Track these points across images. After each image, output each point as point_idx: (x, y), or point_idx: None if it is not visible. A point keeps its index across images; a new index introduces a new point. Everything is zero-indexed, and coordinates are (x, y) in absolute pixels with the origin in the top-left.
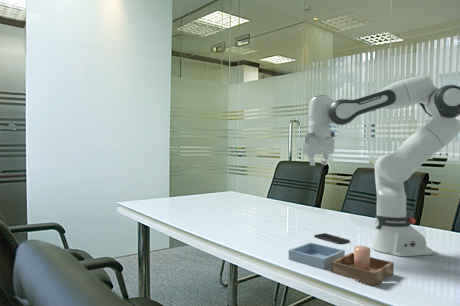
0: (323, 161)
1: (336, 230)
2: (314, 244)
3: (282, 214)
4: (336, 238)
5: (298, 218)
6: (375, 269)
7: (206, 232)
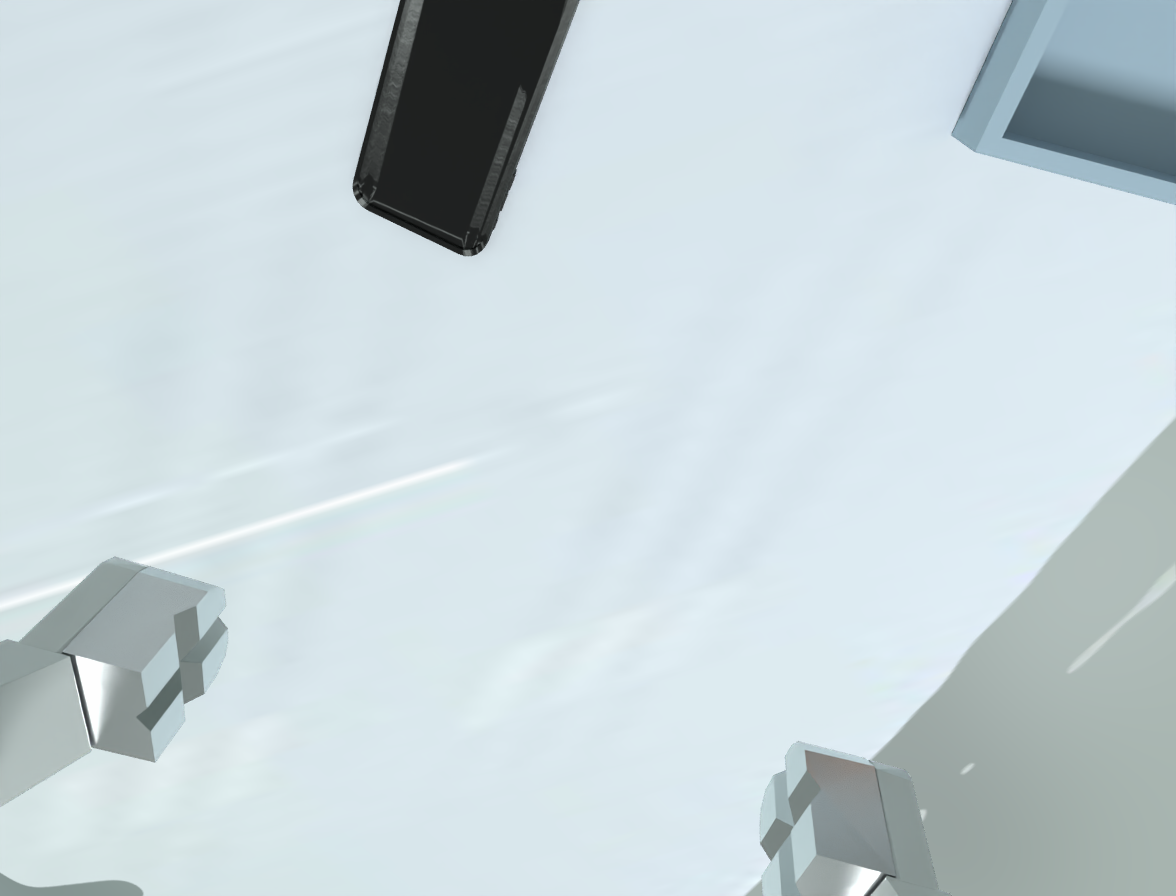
0: (153, 700)
1: (151, 148)
2: (1018, 99)
3: None
4: (442, 52)
5: (60, 509)
6: None
7: None
